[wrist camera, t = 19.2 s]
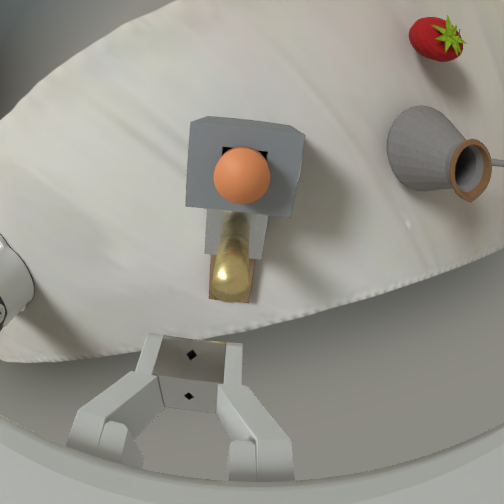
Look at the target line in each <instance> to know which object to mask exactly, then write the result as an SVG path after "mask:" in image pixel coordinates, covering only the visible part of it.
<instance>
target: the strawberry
mask: <svg viewBox="0 0 504 504" xmlns="http://www.w3.org/2000/svg"><path fill="white" fill-rule="evenodd" d="M409 40H410V42H411V44H412V46H413V47H414V49H415V50H416V51H417V52H418V53H420V54H421V55H423V56H425V57H427V58H430V59H433V60H437V61H442V62H446V61H450V60H453V59H455V58H457V57H459V56H460V55H461V54H462V50H463V43H464V44H467V43H466V42H465V41H463V40H462V38H461V36H460V29H459V32H458V31H457V26H454V27H453V26H452V25H451V22H450V19H449V16H447V20H446V21H445V20H443V19H440V18H436V17H426V18H421V19H419V20H417V21H416V22H415V23H414V24H413V26H412V27H411V29H410V31H409Z"/></svg>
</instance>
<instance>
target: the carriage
mask: <svg viewBox="0 0 504 504" xmlns="http://www.w3.org/2000/svg"><path fill="white" fill-rule="evenodd" d="M268 216H269V215H263V214H254V213H246V212H236V211H227V210H217V209H207V220H206V237H205V254H212V255H217V256H216V261H215V266H214V271H213V276H212V281H211V291H212V293H213V294H214V296H215V297H216V298H218V299H219V300H221V301H224V302H237V301H240V300H242V299H243V298H244V297H245V296H246V295H247V293H248V290H249V258H250V259H259V260H262V254H263V247H264V241H265V235H266V229H267V223H268Z"/></svg>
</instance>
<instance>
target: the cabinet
mask: <svg viewBox="0 0 504 504" xmlns="http://www.w3.org/2000/svg"><path fill="white" fill-rule="evenodd" d="M304 140H305V135H304V134H303V133H301V132H300V131H298V130H297V129H295V128H293V127H292V126H289V125H283V124H276V123H269V122H261V121H253V120H244V119H235V118H224V117H211V116H207V117H204V118H201V119H198V120H195V121H192V122H191V124H190V136H189V149H188V164H187V183H186V207H197V208H207V209H217V210H227V211H236V212H246V213H254V214H263V215H271V216H280V217H288V218H290V217H291V212H292V207H293V201H294V196H295V191H296V185H297V184H298V181H299V178H300V173H301V166H302V152H303V146H304ZM240 146H246V147H250V148H253V149H255V150H259V151H266V152H267V157H266V161H267V164H268V167H269V171H270V183H269V187H268V189H267V191H266V192H265V194H264V195H263V196H262V197H261V198H259V199H258V200H256V201H254V202H252V203H248V204H236V203H232V202H230V201H228V200H226V199H225V198H223V197H222V196H221V195H220V194H219V192H218V191H217V189H216V187H215V184H214V170H215V167H216V165H217V163H218V161H219V159H220V158H221V156H222V155H223V147H232V148H235V147H240Z"/></svg>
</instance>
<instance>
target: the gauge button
mask: <svg viewBox="0 0 504 504" xmlns="http://www.w3.org/2000/svg"><path fill="white" fill-rule="evenodd" d="M269 183H270V171H269V167H268V164H267V161H266V159H265V158H264V156H263V155H262V154H261V153H260V152H259V151H257V150H255V149H253V148H250V147H246V146H240V147H235V148H232V149H230V150H228V151H227V152H225V153H224V154H223V155H222V156H221V158H220V159H219V161H218V163H217V165H216V167H215V170H214V184H215V187H216V189H217V191H218V192H219V194H220V195H221V196H222V197H223V198H225V199H226V200H228V201H230V202H232V203H236V204H248V203H252V202H254V201H256V200H258V199H259V198H261V197H262V196H263V195H264V194H265V192H266V191H267V189H268V187H269Z"/></svg>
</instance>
